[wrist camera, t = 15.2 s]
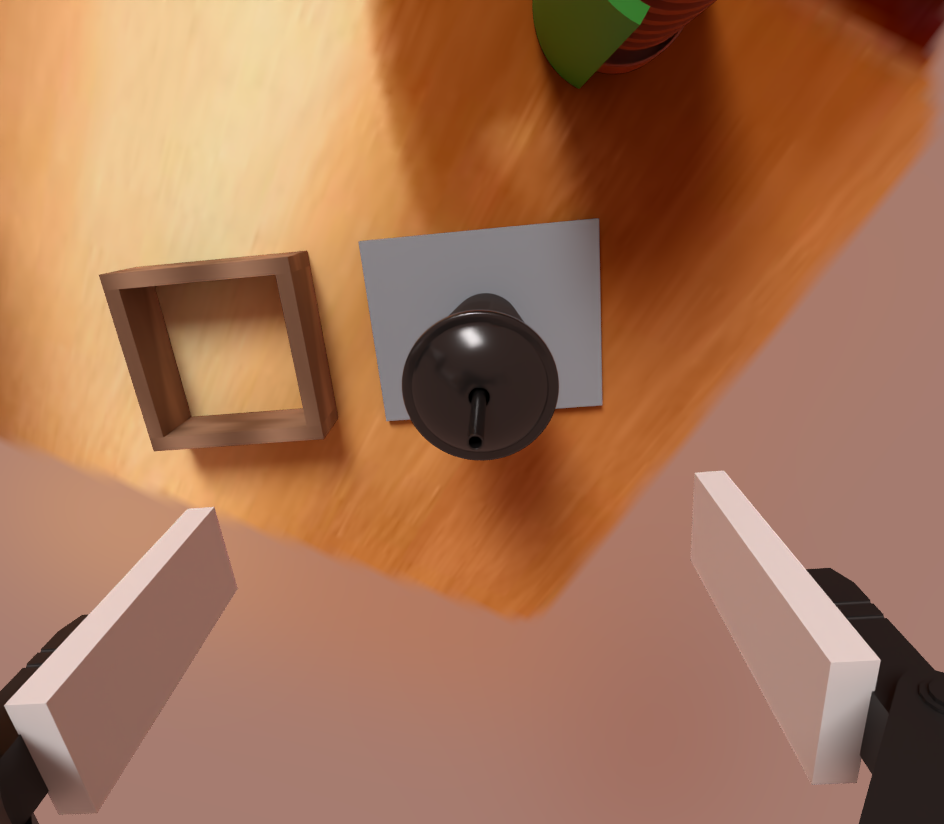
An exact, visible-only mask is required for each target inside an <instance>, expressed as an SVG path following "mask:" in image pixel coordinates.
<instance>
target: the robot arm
mask: <svg viewBox="0 0 944 824" xmlns="http://www.w3.org/2000/svg"><path fill="white" fill-rule="evenodd" d="M691 562H692V564H693V566H694V567H695V569H696V571H697V573H698V575H699V577H700V579H701V581H702V582H703V584H704V586H705V588H706V590H707V592H708V593H709V595H710V597H711V599H712V601H713V603H714V605H715V607H716V608H717V610H718V612H719V614H720V616H721V618H722V619H723V621H724V623H725V625H726V627H727V629H728V631H729V632H730V634H731V636H732V638H733V640H734V642H735V644H736V645H737V647H738V649H739V651H740V653H741V654H742V657H743V658H744V660H745V662H746V664H747V666H748V668H749V669H750V671H751V673H752V675H753V677H754V679H755V681H756V682H757V684H758V686H759V688H760V690H761V692H762V694H763V695H764V697H765V699H766V701H767V703H768V705H769V707H770V708H771V710H772V712H773V714H774V716H775V718H776V719H777V721H778V723H779V725H780V727H781V729H782V731H783V732H784V734H785V736H786V738H787V740H788V741H789V744H790V745H791V747H792V749H793V751H794V753H795V755H796V757H797V758H798V760H799V762H800V764H801V766H802V768H803V770H804V771H805V773H806V775H807V777H808V779H809V780H810V782H811V784H812V785H813V784H814V785H815V784H840V783H857V778H858V773H859V768H860V762H861V758H862V759H863V761H864V762H865V764H866V765H867V767H868V768H869V770H870V772H871V773H872V778H871V781H870V785H869V789H868V792H867V796H866V799H865V803H864V807H863V810H862V814H861V818H860V822H859V824H944V673H943V672H939V671H936V670H934V669H933V668H932V667H931V666H930V664H928V662H927V661H926V660H925V659H924V658H923V657H922V656H921V655H920V654H919V653H918V651H917V650H916V649H915V648H914V647H913V646H912V645H911V644H910V643H909V642H908V641H907V640H906V638H904V636H903V635H902V634H901V633H900V632H899V631H898V630H897V629H896V628H895V626H893V624H892V623H891V622H890V621H889V620H888V619H887V618H884V616H883V614H882V613H881V611H880V610H879V609H878V608H877V607H876V606H875V605H874V604H871V603H870V599H868V597H867V596H866V595H865V594H864V593H863V592H862V591H861V590H860V589H859V587H858V586H857V585H856V584H855V583H854V582H852V581H851V580H849V579H847V578H846V577H844V576H842V575H841V574H839V573H838V572H836V571H834V570H833V569H831V568H821V569H805V568H804V567H803V566H802V564H801V563H800V562H799V561H798V560H797V558H796V557H795V556H794V555H793V554H792V552H791V551H790V550H789V549H788V547H787V546H786V545H785V544H784V543H783V541H782V540H781V539H780V538H779V537H778V535H777V534H776V533H775V532H774V531H773V529H772V528H771V527H770V526H769V525H768V523H767V522H766V521H765V520H764V519H763V517H762V516H761V515H760V514H759V512H758V511H757V510H756V509H755V508H754V507H753V505H752V504H751V503H750V501H749V500H748V499H747V498H746V497H745V495H744V494H743V493H742V492H741V491H740V489H739V488H738V487H737V486H736V485H735V484H734V482H733V481H732V480H731V479H730V477H729V476H728V475H727V474H726V472H725V471H713V472H699V473H695V474H694V495H693V518H692V541H691ZM236 590H237V585H236V582H235V578H234V574H233V571H232V567H231V564H230V560H229V557H228V554H227V550H226V546H225V543H224V539H223V536H222V532H221V529H220V525H219V522H218V518H217V515H216V511H215V508H214V507H207V508H193V509H187V510H186V511H185V512H184V513H183V514H182V515H181V516H180V518H179V519H178V520H177V521H176V522H175V523H174V524H173V525H172V526H171V527H170V528H169V530H167V531H166V533H165V534H164V535H163V536H162V537H161V538H160V539H159V540H158V541H157V542H156V543H155V544H154V545H153V546H152V548H151V549H150V550H149V551H148V552H147V553H146V554H145V555H144V556H143V557H142V558H141V559H140V560H139V561H138V562H137V564H136V565H135V566H134V567H133V568H132V569H131V570H130V571H129V572H128V573H127V574H126V575H125V576H124V577H123V579H122V580H121V581H120V582H119V583H118V584H117V585H116V586H115V587H114V588H113V589H112V590H111V591H110V592H109V594H108V595H107V596H106V597H105V598H104V599H103V600H102V601H101V602H100V603H99V604H98V605H97V606H96V608H95V609H94V610H93V611H92V612H91V613H90V614H89V615H82V616H80V617H78V618H77V619H76V620H74V621H73V622H71V623H70V624H68V625H67V626H65V627H64V628H62V629H61V630H60V631H58V632H57V633H56V634H55V635H54V636H53V637H52V638H51V640H50V641H49V642H48V643H47V644H46V645H45V646H44V647H43V648H42V649H41V652H40V653H37V654H36V655H35V656H34V657H33V658H32V659H31V660H30V661H29V662H28V663H27V666H26V668H22V669H21V670H20V672H19V673H18V674H17V675H16V676H15V677H14V678H13V679H12V680H11V681H10V682H9V683H8V684H7V685H6V686H5V687H4V688H3V689H2V690H1V691H0V824H39V823H38V821H37V819H36V817H35V815H34V813H33V812H34V811H35V809H36V808H37V807H38V805H39V804H40V802H41V801H42V800H43V798H44V797H45V796H46V794H47V793H48V794H49V796H50V798H51V800H52V802H53V804H54V806H55V808H56V810H57V812H58V814H59V815H63V814H89V813H98V811H99V809H100V808H101V806H102V805H103V803H104V802H105V800H106V798H107V797H108V795H109V794H110V792H111V790H112V789H113V787H114V786H115V784H116V782H117V781H118V779H119V778H120V776H121V774H122V773H123V771H124V769H125V768H126V766H127V765H128V763H129V762H130V760H131V758H132V757H133V755H134V754H135V752H136V750H137V749H138V747H139V746H140V744H141V742H142V741H143V739H144V737H145V736H146V734H147V733H148V731H149V730H150V728H151V726H152V725H153V723H154V722H155V720H156V718H157V717H158V715H159V714H160V712H161V710H162V708H163V707H164V706H165V704H166V702H167V701H168V699H169V697H170V696H171V694H172V692H173V691H174V690H175V688H176V686H177V685H178V683H179V682H180V680H181V678H182V677H183V675H184V673H185V672H186V670H187V669H188V667H189V665H190V664H191V662H192V661H193V659H194V658H195V656H196V654H197V653H198V651H199V649H200V648H201V646H202V645H203V643H204V642H205V640H206V638H207V637H208V635H209V634H210V632H211V630H212V629H213V627H214V626H215V624H216V622H217V621H218V619H219V618H220V616H221V614H222V613H223V611H224V610H225V608H226V606H227V605H228V603H229V602H230V600H231V598H232V597H233V595H234V594H235V592H236Z"/></svg>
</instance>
